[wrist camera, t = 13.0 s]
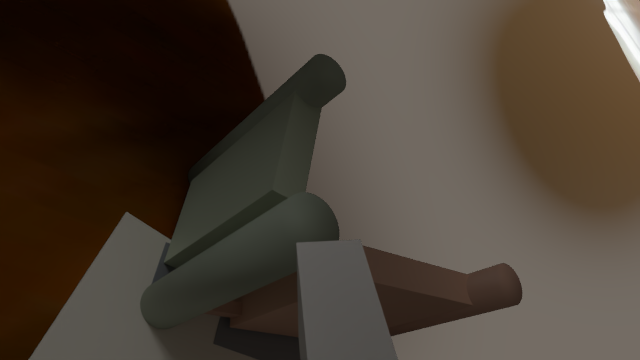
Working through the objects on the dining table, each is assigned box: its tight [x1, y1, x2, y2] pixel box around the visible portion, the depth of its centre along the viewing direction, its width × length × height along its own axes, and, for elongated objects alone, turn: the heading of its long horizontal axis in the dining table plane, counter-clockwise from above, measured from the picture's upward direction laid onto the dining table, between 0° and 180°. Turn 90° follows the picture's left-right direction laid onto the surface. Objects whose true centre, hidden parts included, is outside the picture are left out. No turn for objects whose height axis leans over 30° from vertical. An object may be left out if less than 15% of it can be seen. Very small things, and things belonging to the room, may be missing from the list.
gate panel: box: [203, 245, 522, 337], centre depth 33 cm, size 13×2×15 cm, turn 89°
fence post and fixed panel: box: [140, 54, 346, 329], centre depth 31 cm, size 12×3×16 cm, turn 168°
